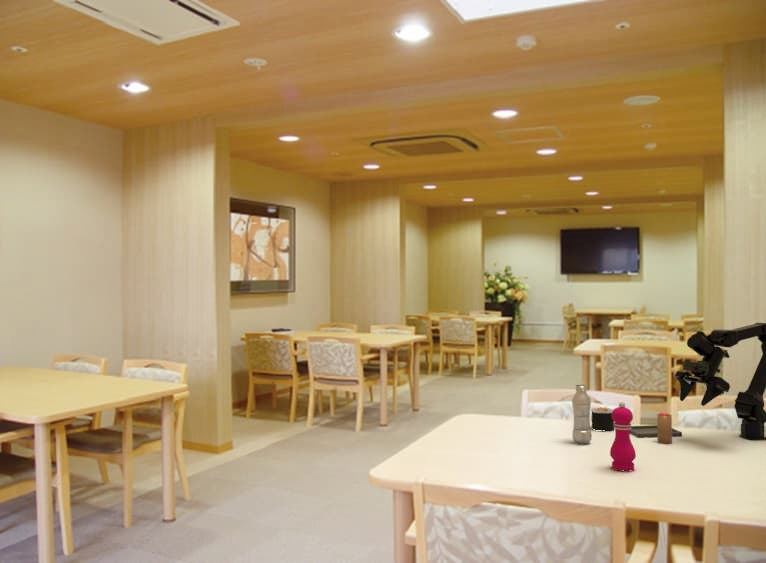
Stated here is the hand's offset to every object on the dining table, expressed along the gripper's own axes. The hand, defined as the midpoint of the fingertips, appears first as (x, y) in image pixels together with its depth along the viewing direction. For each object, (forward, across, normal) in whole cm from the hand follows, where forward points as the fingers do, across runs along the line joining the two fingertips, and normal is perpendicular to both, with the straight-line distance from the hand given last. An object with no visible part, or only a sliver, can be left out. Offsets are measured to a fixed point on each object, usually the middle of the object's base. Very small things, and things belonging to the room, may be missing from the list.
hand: (691, 402), depth 221 cm
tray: (+12, -19, +8) cm, 24 cm away
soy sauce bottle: (+15, -7, +4) cm, 17 cm away
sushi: (+19, -32, -2) cm, 37 cm away
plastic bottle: (+29, -18, -18) cm, 39 cm away
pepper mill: (+34, +12, -24) cm, 43 cm away
